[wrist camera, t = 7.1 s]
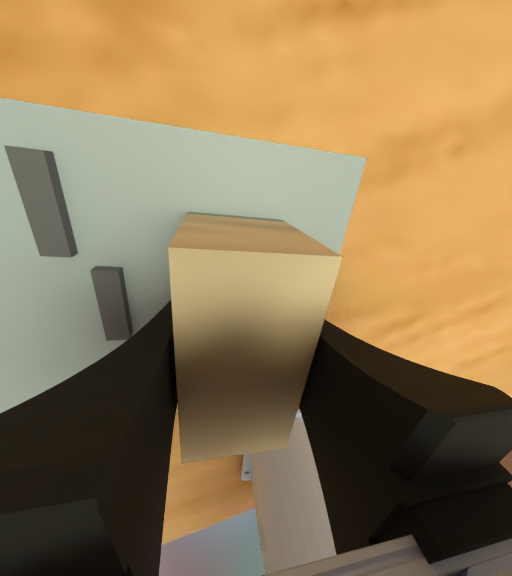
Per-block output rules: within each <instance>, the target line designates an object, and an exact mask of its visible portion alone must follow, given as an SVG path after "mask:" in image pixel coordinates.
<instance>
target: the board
mask: <svg viewBox="0 0 512 576" xmlns="http://www.w3.org/2000/svg"><path fill="white" fill-rule="evenodd" d="M4 145H6V146H14V147H22V148H30V149H38V150H45V151H52V152H53V154H54V158H55V162H56V166H57V170H58V174H59V178H60V182H61V186H62V190H63V194H64V198H65V202H66V206H67V210H68V214H69V218H70V222H71V226H72V230H73V234H74V238H75V243H76V247H77V251H78V254H76V255H75V256H73V257H46V256H40V254H39V251H38V248H37V245H36V242H35V239H34V236H33V233H32V230H31V227H30V224H29V221H28V218H27V215H26V212H25V208H24V205H23V202H22V199H21V196H20V193H19V190H18V187H17V184H16V181H15V178H14V175H13V172H12V169H11V166H10V163H9V160H8V156H7V153H6V150H5V147H4ZM366 159H367V158H365V157H359V156H353V155H347V154H340V153H334V152H328V151H322V150H316V149H310V148H304V147H298V146H292V145H286V144H280V143H274V142H267V141H261V140H255V139H249V138H243V137H237V136H231V135H225V134H219V133H213V132H207V131H201V130H195V129H188V128H182V127H176V126H170V125H164V124H158V123H152V122H146V121H140V120H134V119H128V118H122V117H115V116H109V115H103V114H97V113H91V112H85V111H79V110H73V109H67V108H61V107H55V106H49V105H43V104H36V103H30V102H24V101H18V100H12V99H6V98H0V413H2V412H4V411H6V410H8V409H10V408H12V407H14V406H17V405H19V404H21V403H23V402H24V401H26V400H28V399H30V398H32V397H34V396H36V395H38V394H40V393H42V392H44V391H46V390H48V389H50V388H52V387H53V386H55V385H57V384H59V383H61V382H63V381H65V380H66V379H68V378H70V377H71V376H73V375H75V374H76V373H78V372H80V371H81V370H83V369H85V368H86V367H88V366H90V365H91V364H93V363H95V362H96V361H98V360H100V359H101V358H103V357H104V356H106V355H107V354H109V353H110V352H111V351H113V350H114V349H116V348H117V347H119V346H120V345H121V344H123V343H124V342H125V341H127V340H111V341H106V337H105V333H104V329H103V324H102V320H101V316H100V311H99V307H98V303H97V298H96V294H95V290H94V285H93V281H92V277H91V272H90V270H91V269H93V268H94V267H95V266H112V267H123V273H124V280H125V286H126V292H127V298H128V304H129V311H130V317H131V323H132V329H133V335H134V334H135V333H136V332H138V331H139V330H140V329H141V328H142V327H143V326H145V325H146V324H147V323H148V322H149V321H150V320H151V319H152V318H153V317H154V316H155V315H156V314H157V313H158V312H159V311H160V310H161V309H162V308H163V307H164V306H165V305H166V304H167V303H168V302H169V301H170V300H171V286H170V270H169V254H168V247H169V245H170V243H171V241H172V240H173V238H174V236H175V234H176V232H177V231H178V229H179V227H180V225H181V223H182V222H183V220H184V218H185V216H186V214H187V213H188V212H197V213H209V214H220V215H232V216H243V217H255V218H266V219H277V220H284V221H285V222H287V223H288V224H290V225H292V226H293V227H295V228H297V229H298V230H300V231H302V232H303V233H305V234H307V235H308V236H310V237H311V238H313V239H315V240H316V241H318V242H320V243H321V244H323V245H325V246H326V247H328V248H329V249H331V250H333V251H334V252H336V253H338V254H340V250H341V247H342V243H343V240H344V236H345V233H346V229H347V226H348V222H349V219H350V215H351V212H352V208H353V205H354V201H355V198H356V194H357V191H358V187H359V184H360V180H361V176H362V173H363V169H364V166H365V162H366ZM133 335H132V336H133Z"/></svg>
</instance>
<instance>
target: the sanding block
mask: <svg viewBox="0 0 512 576" xmlns="http://www.w3.org/2000/svg"><path fill="white" fill-rule="evenodd" d="M168 254H169V270H170V286H171V302H172V318H173V334H174V350H175V366H176V382H177V398H178V414H179V430H180V446H181V462H182V463H188V462H195V461H202V460H208V459H215V458H222V457H228V456H235V455H242V454H249V453H255V452H262V451H269V450H275V449H282V448H287V444H288V441H289V438H290V434H291V431H292V428H293V424H294V421H295V417H296V414H297V411H298V407H299V404H300V400H301V397H302V394H303V390H304V387H305V383H306V380H307V377H308V373H309V370H310V367H311V363H312V360H313V356H314V353H315V350H316V346H317V343H318V339H319V336H320V333H321V329H322V326H323V323H324V319H325V316H326V312H327V309H328V306H329V302H330V299H331V295H332V292H333V289H334V285H335V282H336V278H337V275H338V272H339V268H340V265H341V262H342V258H343V256H341V255H339V254H338V253H336V252H334V251H333V250H331V249H329V248H328V247H326V246H325V245H323V244H321V243H320V242H318V241H316V240H315V239H313V238H311V237H310V236H308V235H307V234H305V233H303V232H302V231H300V230H298V229H297V228H295V227H293V226H292V225H290V224H288V223H287V222H285V221H284V220H277V219H266V218H255V217H243V216H232V215H220V214H209V213H197V212H188V213H187V214H186V216H185V218H184V220H183V222H182V223H181V225H180V227H179V229H178V231H177V232H176V234H175V236H174V238H173V240H172V241H171V243H170V245H169V247H168Z"/></svg>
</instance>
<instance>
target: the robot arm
mask: <svg viewBox="0 0 512 576" xmlns="http://www.w3.org/2000/svg"><path fill="white" fill-rule="evenodd" d="M177 403H178V398H177V382H176V366H175V350H174V334H173V318H172V302H171V300H170V301H169V302H168V303H167V304H166V305H165V306H164V307H163V308H162V309H161V310H160V311H159V312H158V313H157V314H156V315H155V316H154V317H153V318H152V319H151V320H150V321H149V322H148V323H147V324H146V325H145V326H143V327H142V328H141V329H140V330H139V331H138V332H136V333H135V334H134V335H133V336H132V337H130V338H129V339H128V340H127V341H125V342H124V343H123V344H121V345H120V346H119V347H117V348H116V349H114V350H113V351H111V352H110V353H109V354H107V355H106V356H104V357H103V358H101V359H100V360H98V361H96V362H95V363H93V364H91V365H90V366H88V367H86V368H85V369H83V370H81V371H80V372H78V373H76V374H75V375H73V376H71V377H70V378H68V379H66V380H65V381H63V382H61V383H59V384H57V385H55V386H53V387H52V388H50V389H48V390H46V391H44V392H42V393H40V394H38V395H36V396H34V397H32V398H30V399H28V400H26V401H24V402H23V403H21V404H19V405H17V406H14V407H12V408H10V409H8V410H6V411H4V412H2V413H0V576H159V565H160V555H161V544H162V533H163V522H164V512H165V502H166V492H167V482H168V473H169V464H170V454H171V445H172V436H173V428H174V420H175V414H176V408H177ZM299 408H300V409H298V411H297V414H296V417H295V421H294V424H293V428H292V431H291V434H290V438H289V441H288V444H287V448H282V449H275V450H269V451H262V452H255V453H249V454H244V456H243V462H242V469H241V480H242V481H248V480H252V486H253V494H254V501H255V508H256V515H257V522H258V529H259V536H260V543H261V551H262V558H263V564H264V569H265V573H266V575H262V576H512V488H511V486H510V485H509V484H508V483H507V482H510V481H511V480H512V475H511V474H510V473H509V472H508V471H507V470H506V469H505V468H504V467H503V466H502V465H501V464H500V463H499V462H500V461H501V460H502V459H503V458H504V457H505V456H506V455H507V454H508V453H509V452H510V451H511V450H512V398H511V397H510V396H508V395H507V394H506V393H504V392H502V391H501V390H499V389H497V388H495V387H493V386H489V385H486V384H482V383H479V382H475V381H472V380H468V379H464V378H461V377H457V376H454V375H450V374H447V373H444V372H441V371H438V370H435V369H432V368H429V367H426V366H423V365H420V364H417V363H414V362H411V361H409V360H406V359H403V358H401V357H398V356H396V355H393V354H391V353H389V352H386V351H384V350H381V349H379V348H377V347H375V346H372V345H370V344H368V343H366V342H364V341H362V340H360V339H358V338H356V337H354V336H352V335H350V334H349V333H347V332H345V331H343V330H341V329H340V328H338V327H336V326H335V325H333V324H331V323H330V322H328V321H326V320H325V319H324V323H323V326H322V329H321V333H320V336H319V339H318V343H317V346H316V350H315V353H314V356H313V360H312V363H311V367H310V370H309V373H308V377H307V380H306V383H305V387H304V390H303V394H302V397H301V400H300V404H299Z"/></svg>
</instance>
